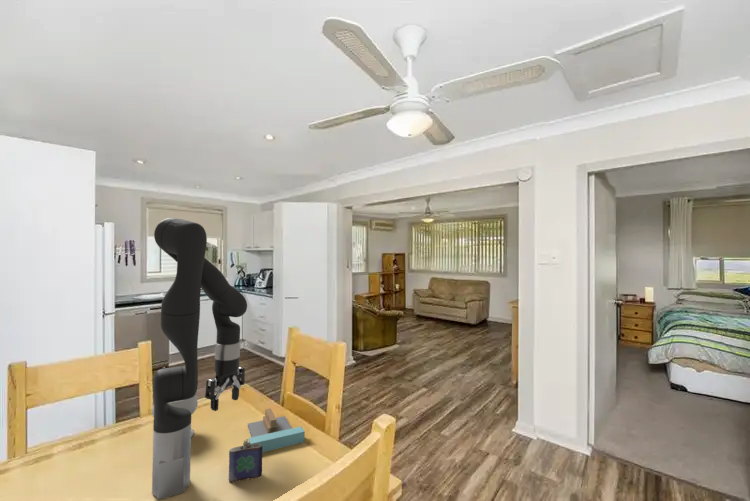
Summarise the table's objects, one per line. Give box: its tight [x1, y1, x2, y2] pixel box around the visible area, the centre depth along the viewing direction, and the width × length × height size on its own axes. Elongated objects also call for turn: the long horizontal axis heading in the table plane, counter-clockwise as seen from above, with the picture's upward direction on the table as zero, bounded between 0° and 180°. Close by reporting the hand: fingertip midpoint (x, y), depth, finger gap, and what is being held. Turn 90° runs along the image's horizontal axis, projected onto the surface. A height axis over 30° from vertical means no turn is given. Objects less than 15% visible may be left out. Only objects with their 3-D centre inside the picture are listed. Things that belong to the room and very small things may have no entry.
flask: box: [228, 438, 263, 483], centre depth 103 cm, size 9×3×11 cm, turn 109°
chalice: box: [151, 394, 199, 438], centre depth 124 cm, size 14×14×15 cm
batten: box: [248, 426, 306, 453], centre depth 120 cm, size 4×18×4 cm, turn 118°
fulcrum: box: [247, 407, 293, 438], centre depth 129 cm, size 14×14×6 cm
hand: (225, 404), depth 114 cm, fingers open, 8 cm apart
